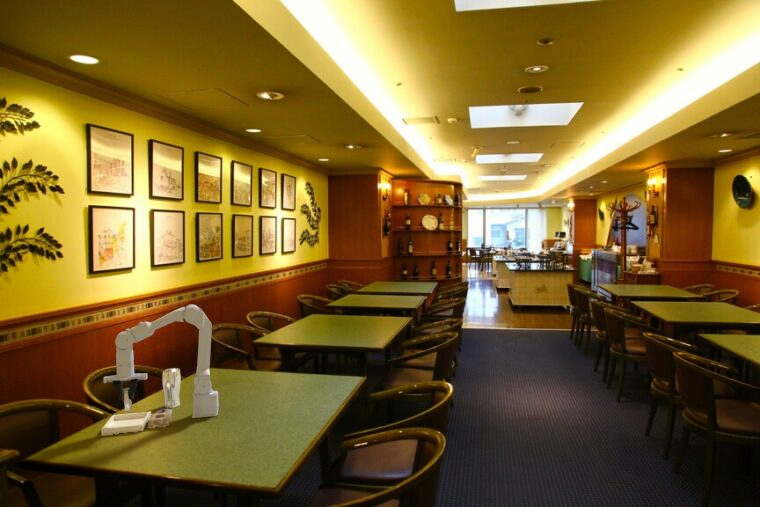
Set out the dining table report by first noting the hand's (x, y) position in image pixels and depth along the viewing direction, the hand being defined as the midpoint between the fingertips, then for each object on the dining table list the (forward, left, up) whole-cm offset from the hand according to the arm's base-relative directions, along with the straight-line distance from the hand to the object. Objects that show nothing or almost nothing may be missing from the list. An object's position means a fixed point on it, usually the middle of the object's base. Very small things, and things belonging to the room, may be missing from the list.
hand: (126, 399), depth 178 cm
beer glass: (-13, -19, -10) cm, 25 cm away
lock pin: (-1, 0, -4) cm, 4 cm away
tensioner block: (-11, -2, -10) cm, 16 cm away
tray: (0, 0, -10) cm, 10 cm away
